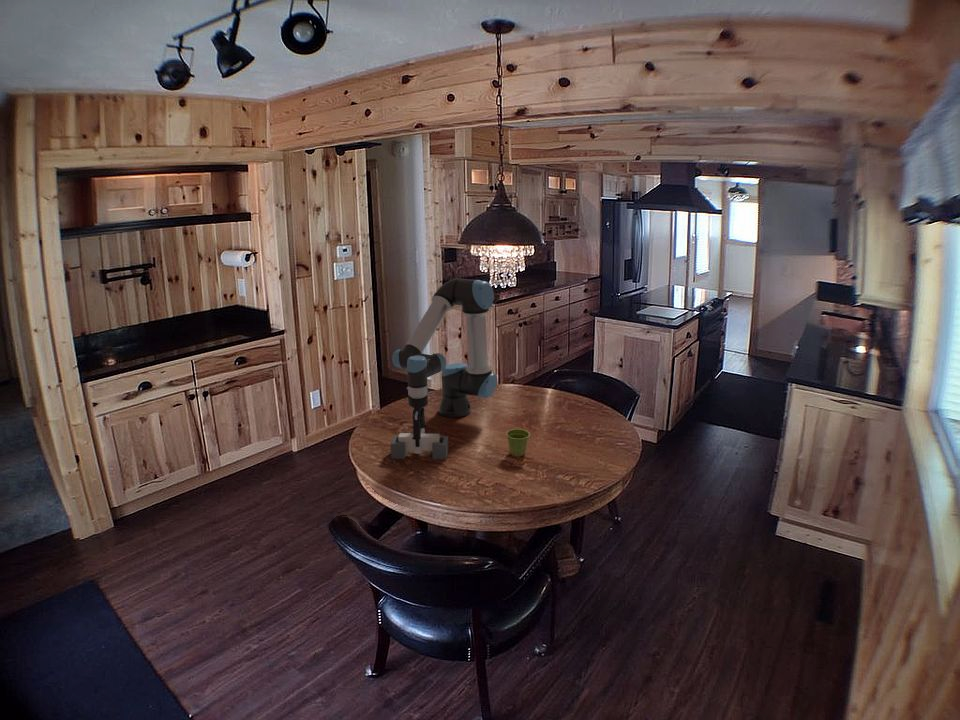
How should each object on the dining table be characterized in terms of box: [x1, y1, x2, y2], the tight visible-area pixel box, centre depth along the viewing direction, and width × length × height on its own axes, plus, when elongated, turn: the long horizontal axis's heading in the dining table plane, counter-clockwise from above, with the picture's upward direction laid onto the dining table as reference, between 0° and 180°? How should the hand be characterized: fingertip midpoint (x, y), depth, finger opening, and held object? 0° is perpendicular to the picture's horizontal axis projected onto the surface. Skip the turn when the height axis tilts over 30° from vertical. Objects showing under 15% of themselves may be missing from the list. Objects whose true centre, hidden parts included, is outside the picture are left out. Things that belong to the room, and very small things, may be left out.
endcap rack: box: [390, 434, 449, 460], centre depth 238 cm, size 22×8×6 cm, turn 87°
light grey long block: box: [398, 432, 441, 452], centre depth 237 cm, size 16×4×6 cm, turn 88°
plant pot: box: [505, 428, 531, 457], centre depth 238 cm, size 9×9×9 cm
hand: (419, 447), depth 238 cm, fingers open, 9 cm apart
